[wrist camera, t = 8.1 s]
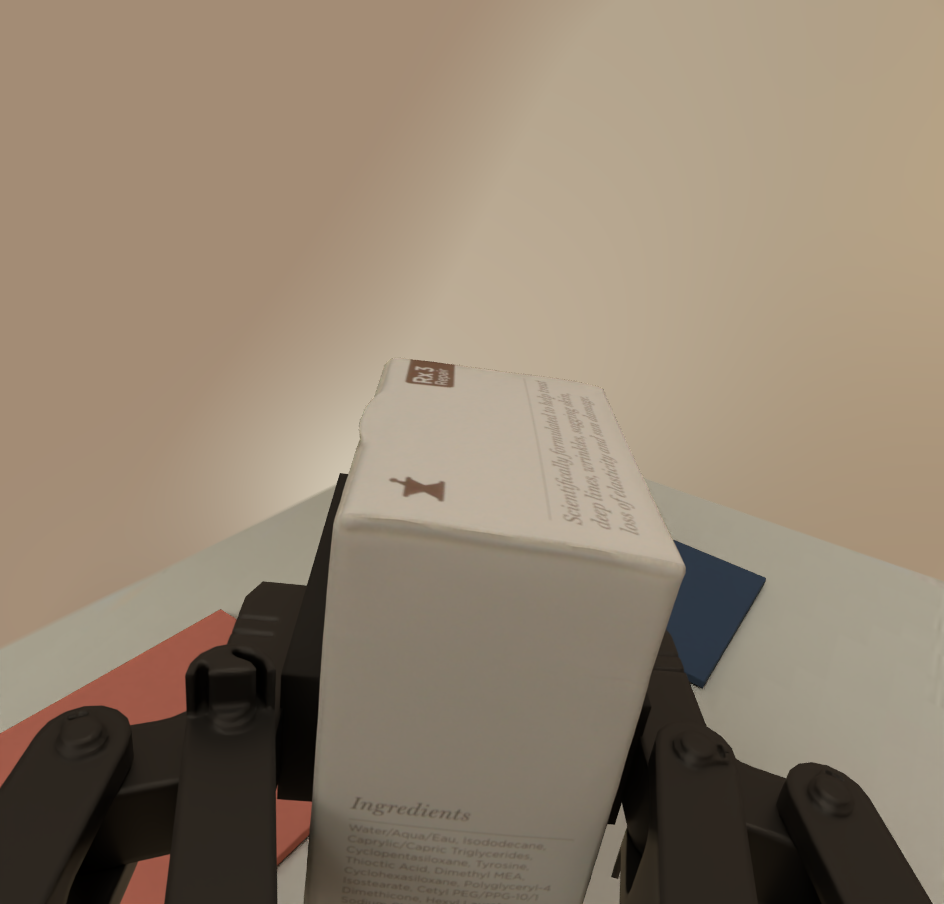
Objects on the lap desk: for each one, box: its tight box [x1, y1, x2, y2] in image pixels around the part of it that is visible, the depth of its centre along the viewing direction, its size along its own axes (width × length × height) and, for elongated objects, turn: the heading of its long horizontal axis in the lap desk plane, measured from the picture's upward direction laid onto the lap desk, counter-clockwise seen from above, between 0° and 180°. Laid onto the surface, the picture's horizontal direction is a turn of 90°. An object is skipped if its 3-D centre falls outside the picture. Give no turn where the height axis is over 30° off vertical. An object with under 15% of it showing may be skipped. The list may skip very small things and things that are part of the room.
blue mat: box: [666, 540, 766, 688], centre depth 38 cm, size 11×10×1 cm
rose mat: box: [0, 609, 312, 904], centre depth 25 cm, size 10×10×1 cm
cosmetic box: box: [304, 358, 686, 904], centre depth 14 cm, size 6×4×12 cm
